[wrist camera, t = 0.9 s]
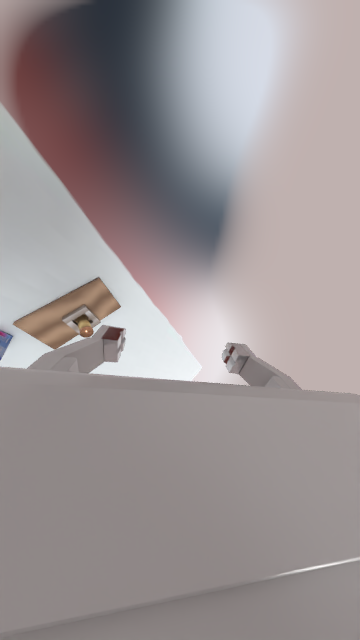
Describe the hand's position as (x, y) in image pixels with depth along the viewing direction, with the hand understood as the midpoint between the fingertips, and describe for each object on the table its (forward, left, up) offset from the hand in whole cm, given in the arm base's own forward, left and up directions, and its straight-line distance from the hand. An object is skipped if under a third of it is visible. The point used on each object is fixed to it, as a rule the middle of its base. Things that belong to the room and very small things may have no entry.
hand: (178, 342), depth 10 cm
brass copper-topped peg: (+12, -11, -43) cm, 46 cm away
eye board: (+10, -11, -44) cm, 47 cm away
